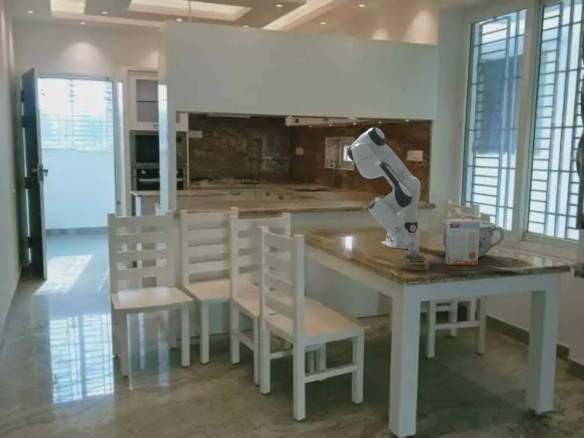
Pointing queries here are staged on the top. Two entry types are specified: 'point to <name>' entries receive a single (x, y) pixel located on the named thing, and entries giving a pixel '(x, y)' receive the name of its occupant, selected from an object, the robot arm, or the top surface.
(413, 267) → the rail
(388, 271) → the top surface
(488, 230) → the chamber pot
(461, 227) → the cracker box
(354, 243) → the top surface
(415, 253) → the peg
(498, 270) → the top surface
